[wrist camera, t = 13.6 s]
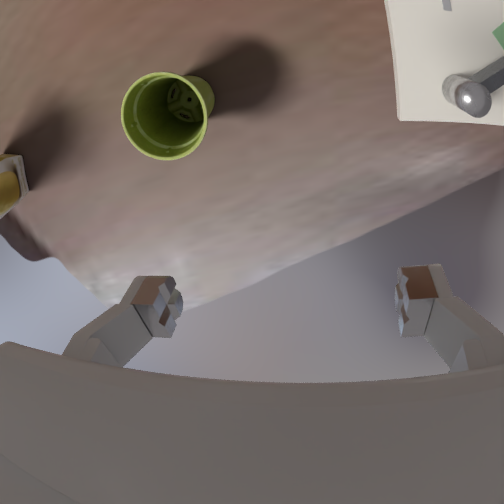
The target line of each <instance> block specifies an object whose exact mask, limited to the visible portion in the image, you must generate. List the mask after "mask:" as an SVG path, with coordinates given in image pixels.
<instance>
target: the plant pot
mask: <svg viewBox="0 0 504 504" xmlns="http://www.w3.org/2000/svg"><path fill="white" fill-rule="evenodd" d="M174 88H176V91H175V93H174V96H173V98H172V97H171V95H172V91H173V89H174ZM188 98H191V101H190V102H189V101H188ZM214 101H215V97H214V94H213V91H212V89H211V87H210V85H209V84H208V83H207V82H206V81H205V80H203V79H202V78H200V77H197V76H180V75H178V74H175V73H171V72H156V73H151V74H148V75H145V76H143V77H141V78H140V79H138V80H137V81H136V82H135V83H134V84H133V85H132V86H131V87H130V88H129V89H128V91H127V92H126V94H125V96H124V99H123V103H122V107H121V121H122V126H123V128H124V131H125V134H126V136H127V137H128V139H129V140H130V142H131V143H132V144H133V145H134V146H135V147H136V148H137V149H138V150H139V151H140V152H142V153H143V154H145V155H147V156H149V157H152V158H155V159H159V160H175V159H179V158H182V157H185V156H187V155H188V154H190V153H191V152H193V151H194V150H195V149H196V148H197V147H198V146H199V144H200V143H201V142H202V140H203V138H204V136H205V133H206V130H207V125H208V117H209V115H210V113H211V111H212V109H213V107H214ZM180 113H182V114H184V115H187V116H190V118H184V117H182V116H181V115H180Z"/></svg>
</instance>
